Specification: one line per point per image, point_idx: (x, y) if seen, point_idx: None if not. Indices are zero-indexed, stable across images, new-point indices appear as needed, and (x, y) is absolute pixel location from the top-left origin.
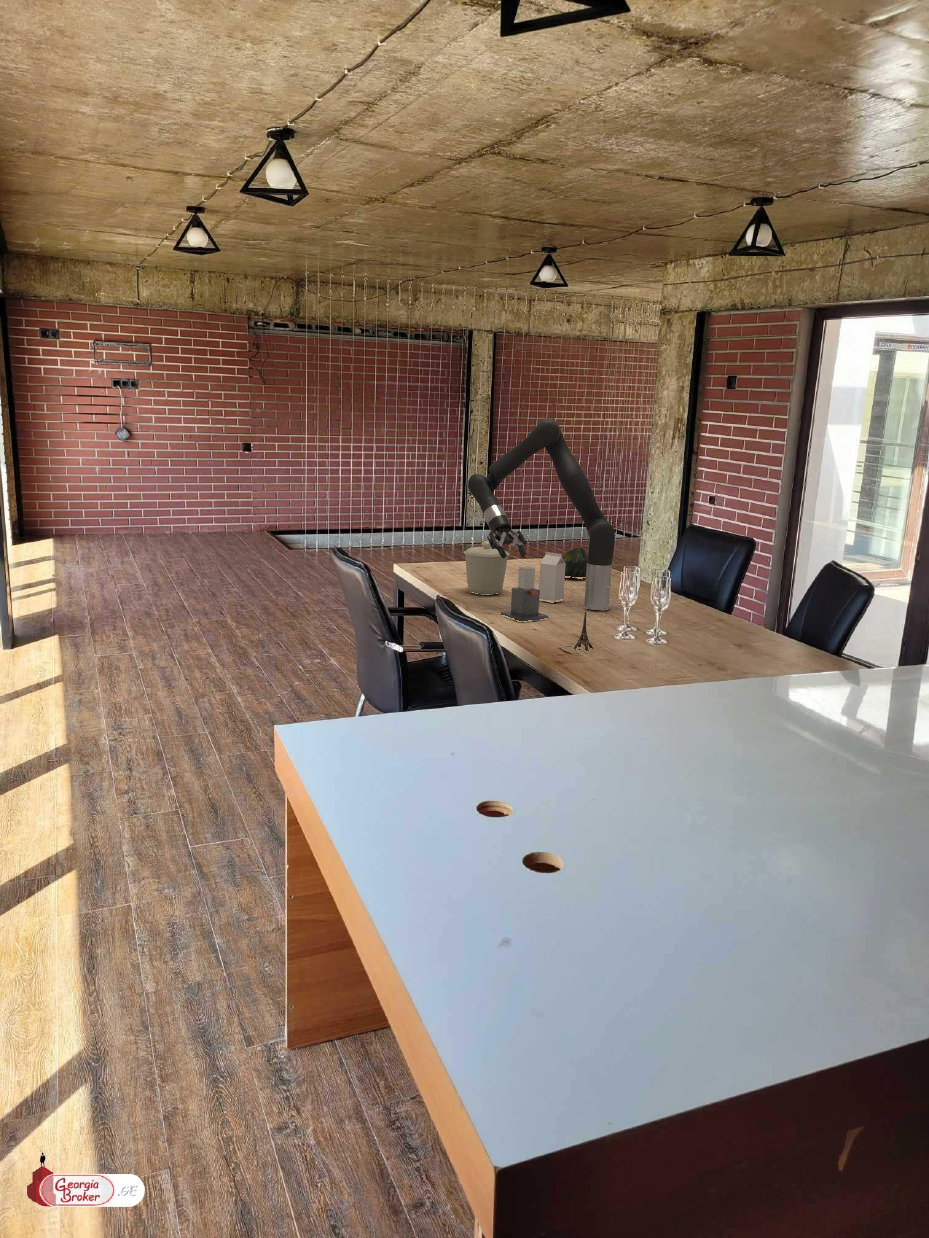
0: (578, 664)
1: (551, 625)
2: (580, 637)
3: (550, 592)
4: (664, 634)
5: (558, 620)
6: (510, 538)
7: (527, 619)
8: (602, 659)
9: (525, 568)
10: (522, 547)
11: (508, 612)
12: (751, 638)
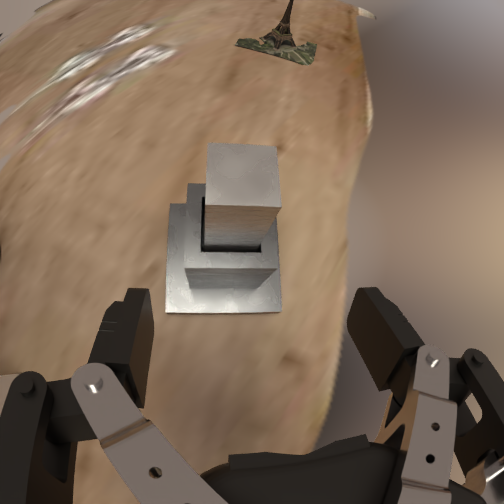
0: (327, 26)
1: None
2: (289, 29)
3: (5, 390)
4: (81, 54)
5: (149, 192)
6: (263, 494)
7: None
8: None
9: (265, 161)
10: (118, 342)
11: (262, 294)
12: (28, 35)
